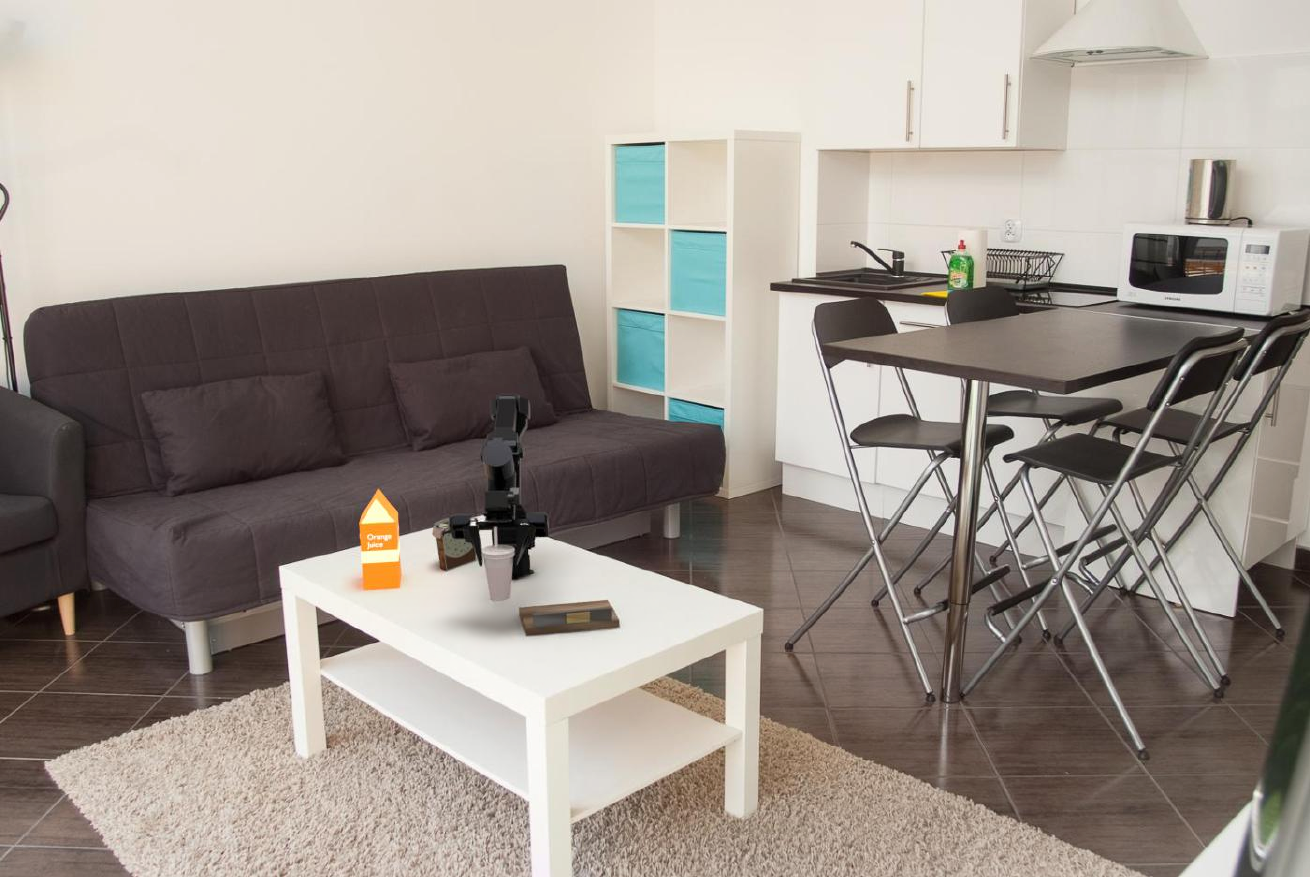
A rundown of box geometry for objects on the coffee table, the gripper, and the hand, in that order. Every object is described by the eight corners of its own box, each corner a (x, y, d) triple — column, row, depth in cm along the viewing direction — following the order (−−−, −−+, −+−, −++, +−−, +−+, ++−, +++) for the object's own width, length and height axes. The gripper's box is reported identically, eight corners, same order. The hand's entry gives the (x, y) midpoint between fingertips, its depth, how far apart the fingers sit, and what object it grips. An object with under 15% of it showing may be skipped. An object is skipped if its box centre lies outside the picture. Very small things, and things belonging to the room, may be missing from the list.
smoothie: (502, 589, 228) (500, 520, 225) (523, 597, 224) (521, 527, 221) (476, 598, 224) (473, 527, 221) (497, 606, 219) (494, 534, 216)
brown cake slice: (461, 555, 272) (459, 513, 270) (480, 559, 269) (479, 517, 267) (422, 568, 263) (420, 525, 261) (441, 573, 259) (439, 529, 257)
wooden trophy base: (519, 614, 233) (518, 595, 232) (607, 606, 236) (607, 588, 236) (526, 636, 221) (525, 616, 220) (619, 628, 225) (619, 608, 224)
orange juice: (402, 575, 258) (397, 487, 254) (400, 588, 249) (395, 497, 245) (365, 577, 257) (360, 489, 253) (362, 590, 248) (356, 499, 244)
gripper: (448, 473, 222) (443, 546, 214) (546, 471, 223) (545, 544, 215) (455, 502, 232) (450, 573, 223) (549, 500, 232) (548, 571, 224)
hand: (498, 565), depth 221 cm, fingers closed on smoothie, 6 cm apart
